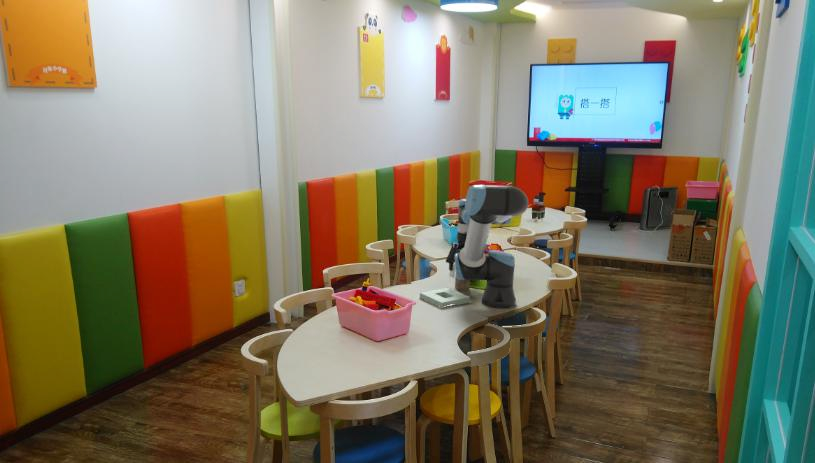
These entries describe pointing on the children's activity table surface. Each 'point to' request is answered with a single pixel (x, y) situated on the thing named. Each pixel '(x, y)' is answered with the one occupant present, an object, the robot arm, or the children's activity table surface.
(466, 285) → the walnut peg
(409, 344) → the children's activity table surface
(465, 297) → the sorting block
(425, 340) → the children's activity table surface
